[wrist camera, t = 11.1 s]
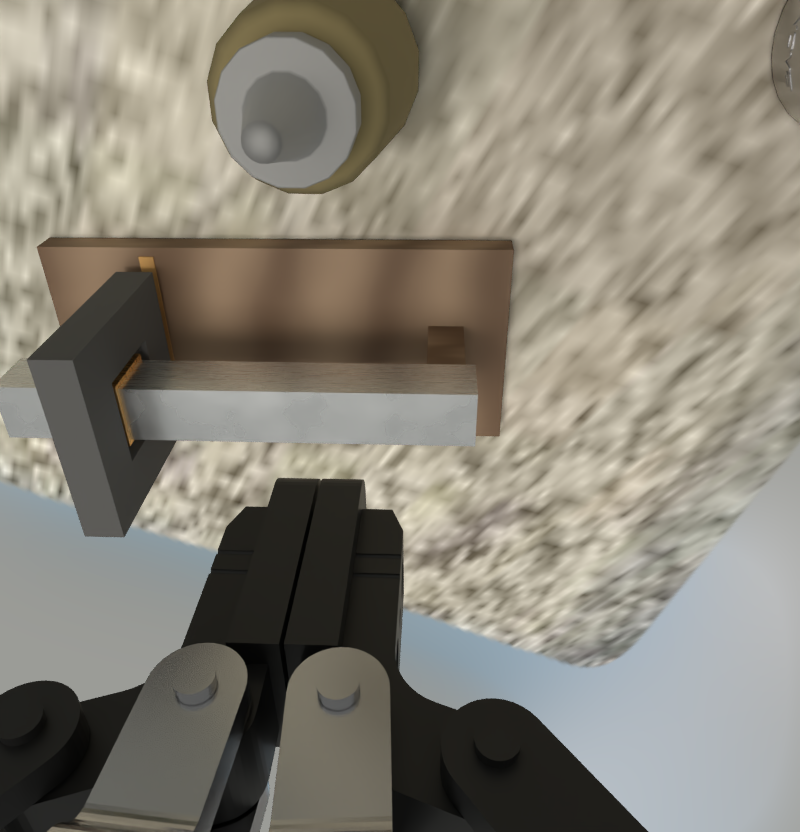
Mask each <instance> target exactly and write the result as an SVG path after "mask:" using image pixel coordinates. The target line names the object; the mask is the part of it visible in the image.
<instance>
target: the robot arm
mask: <svg viewBox="0 0 800 832" xmlns="http://www.w3.org/2000/svg"><path fill="white" fill-rule="evenodd" d="M772 73H773V81H774V84H775V87H776V91H777V94H778V97H779V99H780V101H781V102H782V104H783V106H784V107H785V109H786V111H787V112H788V114H790V115H791V116H792V117H793V118H794V119H795V120H796V121H797V122H798V123H799V124H800V0H788V2H787V4H786V6H785V7H784V9H783V12H782V15H781V18H780V21H779V24H778V26H777V29H776V32H775V37H774V44H773V51H772ZM403 598H404V568H403V530H402V528H401V526H400V524H399V522H398V520H397V518H396V516H395V514H394V512H393V510H379V509H366V493H365V482H364V480H356V479H322V480H320V479H302V478H278V479H277V480H276V482H275V485H274V488H273V492H272V495H271V498H270V501H269V504H268V507H245V508H244V509H243V510H242V511H241V512H240V513H239V514H238V515H237V516H236V518H235V519H234V520H233V521H232V522H231V523H230V524H229V525H228V526H227V527H226V530H225V532H224V535H223V538H222V540H221V543H220V546H219V548H218V554H216V556H215V559H214V562H213V565H212V567H211V574H209V575H208V578H207V581H206V583H205V586H204V589H203V591H202V594H201V597H200V599H199V602H198V605H197V607H196V610H195V613H194V615H193V618H192V621H191V623H190V626H189V629H188V631H187V634H186V637H185V639H184V642H183V645H182V647H181V649H178V650H177V651H175V652H173V653H171V654H170V655H168V656H167V657H165V658H164V659H163V660H162V661H161V662H160V663H158V664H157V665H156V667H155V668H154V669H153V670H152V671H151V673H150V675H149V676H148V678H147V680H146V682H145V683H144V684H141V685H139V686H137V687H135V688H132V689H129V690H125V691H122V692H118V693H114V694H110V695H106V696H102V697H98V698H94V699H90V700H86V701H82V702H79V700H78V697H77V696H76V694H75V693H74V691H73V690H72V689H70V688H69V687H68V686H66V685H64V684H62V683H59V682H55V681H36V682H30V683H26V684H23V685H20V686H17V687H15V688H13V689H10V690H8V691H6V692H5V693H3V694H1V695H0V832H260V829H261V825H262V822H263V818H264V814H265V811H266V807H267V804H268V799H269V789H270V788H269V781H268V780H269V776H270V771H271V766H272V762H273V757H274V752H275V747H280V749H279V758H278V765H277V774H276V782H275V790H274V798H273V806H272V815H271V822H270V828H269V832H648V831H647V830H646V829H645V828H644V827H643V826H642V825H641V824H640V823H639V822H638V821H637V820H636V819H635V818H634V817H633V816H632V815H631V814H630V813H629V812H628V811H627V810H626V809H625V807H624V806H623V805H621V803H620V802H619V801H618V800H617V799H616V798H615V797H614V796H613V795H612V794H611V793H610V792H609V791H608V790H607V789H606V788H605V787H604V786H603V785H602V784H601V783H600V782H599V781H598V780H597V779H596V778H595V777H594V776H593V775H592V774H591V773H590V772H589V771H588V770H587V768H585V766H584V765H582V764H581V762H580V761H579V760H578V759H577V758H576V757H575V756H574V755H573V754H572V753H571V752H570V751H569V750H568V749H567V748H566V747H565V746H564V745H563V744H562V743H561V742H560V741H559V740H558V739H557V738H556V737H555V736H554V735H553V734H552V733H551V732H550V731H549V730H548V729H547V727H546V726H545V725H543V724H542V722H541V721H540V720H539V719H538V718H537V717H536V716H534V715H533V714H532V713H531V712H530V711H528V710H527V709H525V708H524V707H522V706H520V705H518V704H516V703H514V702H510V701H506V700H502V699H481V700H476V701H473V702H470V703H468V704H466V705H464V706H463V707H461V708H460V709H458V710H456V709H452V708H450V707H447V706H444V705H441V704H439V703H436V702H433V701H431V700H429V699H426V698H424V697H423V696H421V695H420V694H418V693H417V692H416V691H414V690H413V689H412V688H411V687H410V686H409V685H408V684H407V683H406V682H405V680H404V679H403V677H402V676H401V674H400V672H399V666H400V648H401V632H402V631H401V630H402V615H403Z"/></svg>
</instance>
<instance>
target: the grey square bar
mask: <svg viewBox="0 0 800 832" xmlns="http://www.w3.org/2000/svg"><path fill="white" fill-rule="evenodd" d="M112 387H113V390H114V394H115V398H116V402H117V406H118V409H119V413H120V417H121V421H122V425H123V428H124V432H125V436H126V440H127V443H128V446H131V444H132V443H133V441H134V440H180V441H231V442H283V443H334V444H386V445H438V446H475V439H476V421H477V403H478V390H477V377H476V365H449V364H378V363H307V362H237V361H166V360H142V359H141V355H140V354H134V355H133V356H132V357H131V359H130V360H129V361H128V363H127V364H126V365H125V367H124V368H123V369H122V371H121V372H120V373H119V375H118V376H117V377H116V378H115V380H114V381H113V382H112ZM0 412H1V415H2V418H3V421H4V423H5V426H6V429H7V431H8V434H9V437H25V438H52V435H51V432H50V429H49V426H48V423H47V420H46V417H45V414H44V411H43V408H42V405H41V402H40V399H39V396H38V393H37V390H36V387H35V384H34V381H33V378H32V375H31V372H30V369H29V366H28V363H27V359H25V358H21V359H20V360H19V361H18V362H17V363H16V364H15V365H14V366H13V367H12V368H11V369H10V370H8V371H7V372H6V373H5V374H4V375H3V376H2V377H1V378H0Z"/></svg>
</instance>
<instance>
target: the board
mask: <svg viewBox="0 0 800 832" xmlns="http://www.w3.org/2000/svg"><path fill="white" fill-rule="evenodd" d="M37 249H38V253H39V256H40V259H41V263H42V266H43V270H44V273H45V276H46V280H47V283H48V287H49V290H50V293H51V297H52V300H53V304H54V307H55V310H56V314H57V317H58V320H59V324H60V326H61V325H62V324H63V323H64V322H65V321H67V320H68V319H69V318H70V317H71V316H72V315H73V314H74V313H75V312H76V311H77V310H78V309H79V308H80V307H81V306H82V305H83V304H84V303H85V302H86V301H87V300H88V299H89V298H90V297H91V296H92V295H93V294H94V293H95V292H96V291H97V290H98V289H99V288H100V287H101V286H102V285H103V284H104V283H105V282H106V281H107V280H108V279H109V278H110V277H111V276H112V275H113V274H114V273H115V272H152V273H153V278H154V283H155V287H156V292H157V297H158V302H159V307H160V311H161V316H162V321H163V326H164V331H165V335H166V340H167V345H168V350H169V355H170V359H171V361H237V362H307V363H378V364H449V365H476V377H477V390H478V403H477V421H476V436H499V434H500V421H501V408H502V395H503V382H504V370H505V357H506V344H507V331H508V318H509V306H510V293H511V280H512V267H513V254H514V249H513V245H512V241H485V240H322V239H158V238H48V239H47V240H46V241H44V242H43V243H42V244H40V245H39V246H38V247H37Z"/></svg>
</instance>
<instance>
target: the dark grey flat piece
mask: <svg viewBox="0 0 800 832" xmlns="http://www.w3.org/2000/svg"><path fill="white" fill-rule="evenodd" d="M134 354H140V355H141V359H142V360H166V361H171V359H170V355H169V350H168V345H167V340H166V335H165V331H164V326H163V321H162V316H161V311H160V307H159V302H158V297H157V292H156V287H155V283H154V278H153V273H152V272H115V273H114V274H113V275H112V276H111V277H110V278H109V279H108V280H107V281H106V282H105V283H104V284H103V285H102V286H101V287H100V288H99V289H98V290H97V291H96V292H95V293H94V294H93V295H92V296H91V297H90V298H89V299H88V300H87V301H86V302H85V303H84V304H83V305H82V306H81V307H80V308H79V309H78V310H77V311H76V312H75V313H74V314H73V315H72V316H71V317H70V318H69V319H68V320H67V321H65V322H64V323H63V324H62V325H61V326H60V327H59V328H58V329H57V330H56V331H55V332H54V333H53V334H52V335H51V336H50V337H49V338H48V339H47V340H46V341H45V342H44V343H43V344H42V345H41V346H40V347H39V348H38V349H37V350H36V351H35V352H34V353H33V354H32V355H31V356H30V357H29V358H28V359H27V363H28V366H29V369H30V372H31V375H32V378H33V381H34V384H35V387H36V390H37V393H38V396H39V399H40V402H41V405H42V408H43V411H44V414H45V417H46V420H47V423H48V426H49V429H50V432H51V435H52V438H53V441H54V444H55V447H56V450H57V453H58V456H59V459H60V462H61V465H62V468H63V471H64V474H65V477H66V480H67V484H68V487H69V490H70V493H71V496H72V499H73V502H74V505H75V508H76V511H77V514H78V517H79V520H80V523H81V526H82V529H83V532H84V535H85V536H95V537H125V535H126V533H127V531H128V529H129V528H130V526H131V524H132V522H133V520H134V518H135V516H136V515H137V513H138V511H139V509H140V507H141V505H142V504H143V502H144V500H145V498H146V496H147V494H148V492H149V491H150V489H151V487H152V485H153V483H154V481H155V480H156V478H157V476H158V474H159V472H160V470H161V468H162V467H163V465H164V463H165V461H166V459H167V457H168V456H169V454H170V452H171V450H172V448H173V446H174V444H175V443H176V441H177V440H134V441H133V443H132V444H131V446H128V443H127V440H126V436H125V432H124V428H123V425H122V421H121V417H120V413H119V409H118V406H117V402H116V398H115V394H114V390H113V387H112V382H113V381H114V380H115V378H116V377H117V376H118V375H119V373H120V372H121V371H122V369H123V368H124V367H125V365H126V364H127V363H128V361H129V360H130V359H131V357H132V356H133V355H134Z"/></svg>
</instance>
